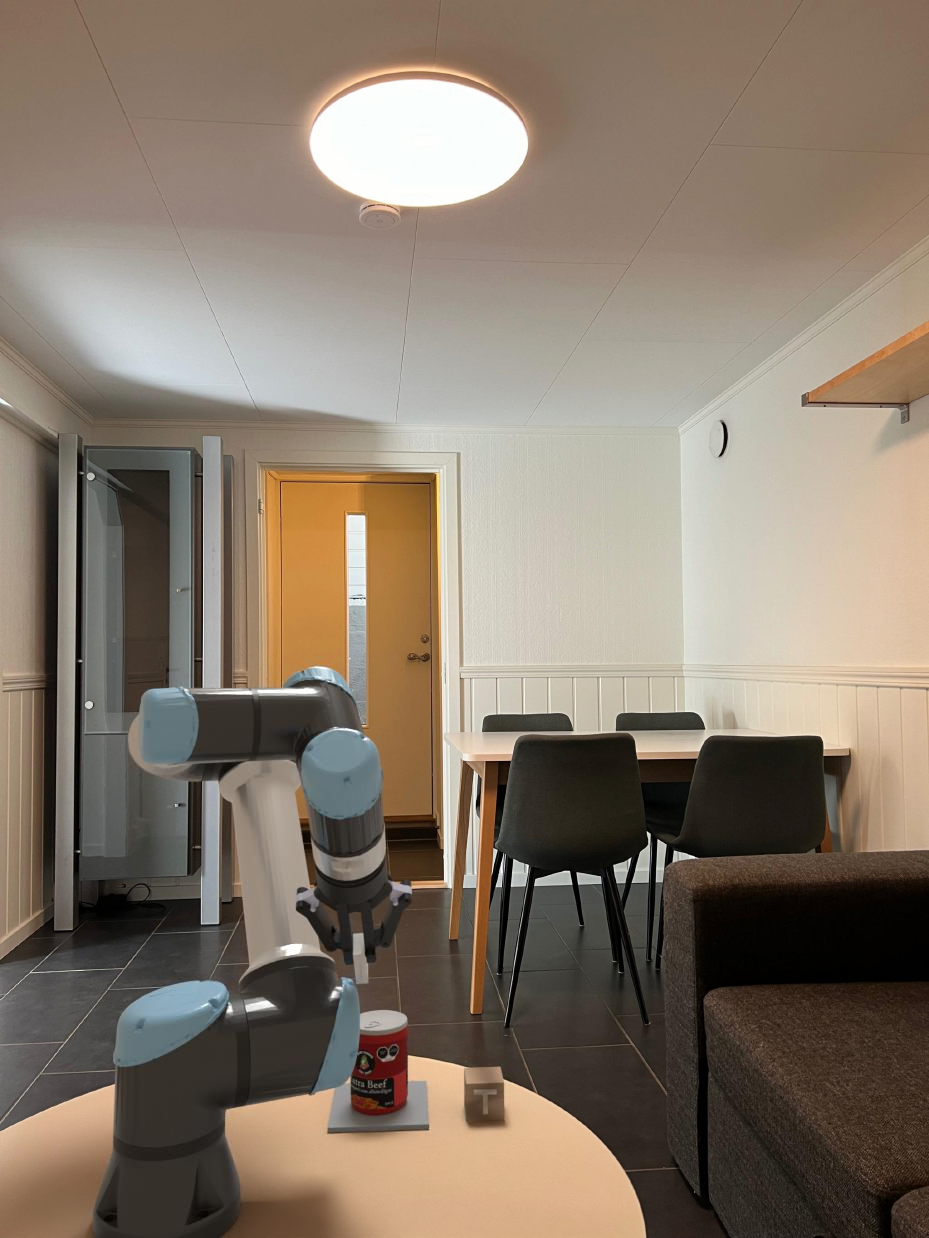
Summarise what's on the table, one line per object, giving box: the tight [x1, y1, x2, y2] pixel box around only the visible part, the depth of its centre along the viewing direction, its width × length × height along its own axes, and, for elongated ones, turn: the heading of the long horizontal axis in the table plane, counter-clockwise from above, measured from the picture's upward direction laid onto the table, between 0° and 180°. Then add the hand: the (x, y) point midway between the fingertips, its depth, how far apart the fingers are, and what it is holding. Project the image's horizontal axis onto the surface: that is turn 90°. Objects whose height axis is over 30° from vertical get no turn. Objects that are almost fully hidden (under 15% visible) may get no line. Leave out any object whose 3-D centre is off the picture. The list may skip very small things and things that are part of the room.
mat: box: [327, 1080, 430, 1134], centre depth 122 cm, size 13×13×1 cm
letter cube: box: [463, 1066, 505, 1124], centre depth 121 cm, size 5×5×5 cm
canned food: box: [349, 1009, 409, 1115], centre depth 123 cm, size 8×8×11 cm
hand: (362, 973), depth 109 cm, fingers closed
